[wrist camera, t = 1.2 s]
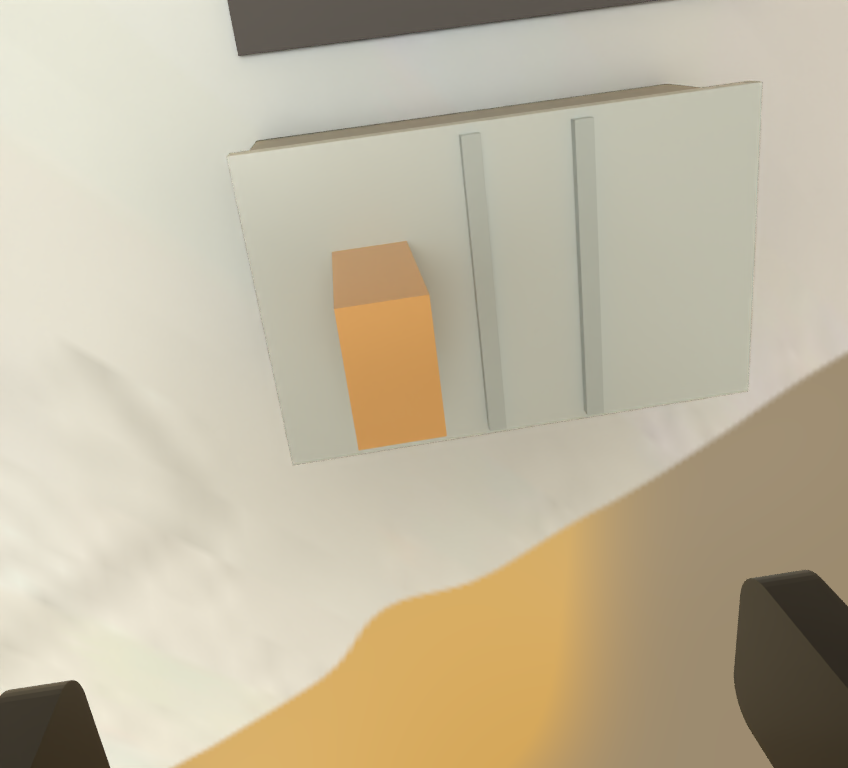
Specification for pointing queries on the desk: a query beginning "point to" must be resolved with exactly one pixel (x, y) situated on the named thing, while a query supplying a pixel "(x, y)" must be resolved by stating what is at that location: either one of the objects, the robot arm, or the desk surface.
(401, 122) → the tub
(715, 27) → the desk surface
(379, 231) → the lid
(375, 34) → the mat
